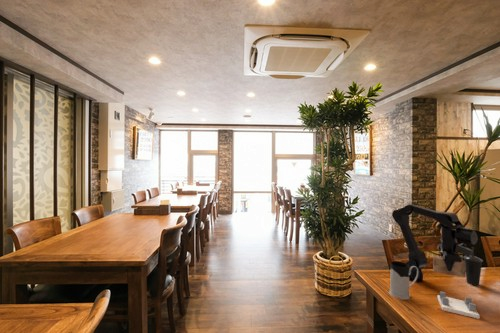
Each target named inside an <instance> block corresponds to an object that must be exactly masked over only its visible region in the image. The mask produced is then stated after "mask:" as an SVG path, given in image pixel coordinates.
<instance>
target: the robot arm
mask: <svg viewBox="0 0 500 333" xmlns="http://www.w3.org/2000/svg"><path fill="white" fill-rule="evenodd" d="M413 213H414V214H418V215H421V216H423V217H424V216H425V217H427V218H431V219H433V220H434V221H436V222H437V223H439V224H438V225H436V226H435V227H436V228H438V229H441V231H440V232H441V233H440V234H441V236H440V240H439V241H440V242H441V243H439V244H437V248H436V249H437V250H438V251H439V254H440V257H442V258H443V260H444V262H445V265H446V267H447V269H448V271H451V270H452V267H453V265H454V262H462V261H463V257H461V256H460V254H462V255H464V256H468V257H470V256H472V252H473V251H472V248H469V247H468V246H467V244H470V245H476V244H477V243H478V240H479V237H478V235H477V232H476V230H475V229H474V228H466V227H465V226H464V224H463V223H462V222H461V220H459V216H458V215H457V214H456V213H454V212H447V211H439V210H438V211H437V210H434V209H430V208H426V207H424V206H420V205H417V204H414V203H411V204H406V205H405V206H403V207H400V208H398V209H395V210H393V211H392V212H391V217H392V218H393V220H394V222H395V223H396V224H397V226H399V229H400V230H401V233H402V236H403V239H404V242H405V244H406V247H407V249H408V254H407V255H408V256H407V257H408V261H406V262H405V263H406V264H408V265H409V270H410V268H411V267H412V266H416V267H417V268H418V271H419V273H418V278H417V280H416V283H423V280H424V272H423V271H422V270H423V269H424V268H425V267H426V266H427V265H428V258H427V254H426V253H425V252H422V251H421V250H420V248H419V246H418V244H417V240H416V238H415V236H414V234H413V231H412V229H411V226H410V215H413ZM458 241H459V242H462V243H460V244H459V243H458ZM465 243H466V244H465ZM416 267H413V268H412V269H411V274H410V275H409V281H412V282H413V281H414V280H415V278H416V275H417V268H416Z"/></svg>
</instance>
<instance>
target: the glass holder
mask: <svg viewBox="0 0 500 333" xmlns="http://www.w3.org/2000/svg"><path fill="white" fill-rule="evenodd" d="M413 267H416V266H412V267H411V268H410V270H409V265H408V264H406V262H404V261H403V262H402V261H397V260H392V261H391V262H390V272H389V273H390V274H389V275H390V277H389V278H390V281H389V282H390V287H389V288H390V289H389V291H388V292H389V295H391V296H392V297H393V298H396V299H399V300H407V301H408V300H409V299H411V295H410V288H411V287H412V286H413V285H414V284H415V283H417V281H416V280H417V278H418V273H419V271H418V268H417V267H416V268H417V275H416V278H415V280H414V281H412V282H411V283H410V280H409V275H410V274H411V269H412V268H413Z"/></svg>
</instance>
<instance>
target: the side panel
mask: <svg viewBox="0 0 500 333" xmlns="http://www.w3.org/2000/svg"><path fill="white" fill-rule="evenodd" d="M437 300H438V303H439V305H440V307H441V310H442V311H445V312H449V313H453V314H458V315H461V316H466V317H470V318H474V319H478V320H480V314H479V312H478V310H477V305H476V303H473V299H472V298H471V297H468V296H465V297H464V300H461V299H458V298H454V297H448V296H447V293H446V292H444V291H439V294H437Z"/></svg>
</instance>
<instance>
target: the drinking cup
mask: <svg viewBox="0 0 500 333" xmlns="http://www.w3.org/2000/svg"><path fill="white" fill-rule="evenodd" d="M471 250H472V251H473V252H472V254H471V255H470V257H468V256H466V255H464V256H462V259H463V261H464V262H465V263H466V279H465V280H466V283H467V284H468V285H471V286H476V287H477V286H480V279H481V273H482V272H481V271H482V266H483V265H482V264H483V262H484V261H483V259H481V258H480V257H477V256H475V254H474V253H475V251H474V250H475V247H474V246H471Z"/></svg>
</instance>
